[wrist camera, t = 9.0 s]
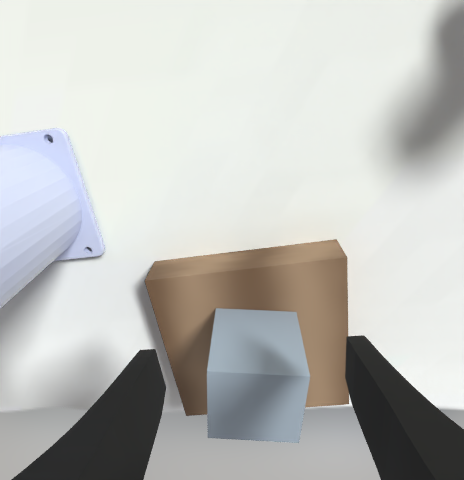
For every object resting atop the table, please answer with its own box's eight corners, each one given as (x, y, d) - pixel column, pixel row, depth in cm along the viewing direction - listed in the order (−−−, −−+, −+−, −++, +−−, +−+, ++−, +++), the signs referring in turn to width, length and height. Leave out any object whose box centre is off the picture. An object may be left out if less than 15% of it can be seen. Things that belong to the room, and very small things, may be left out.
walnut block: (192, 383, 28) (186, 415, 25) (156, 257, 23) (144, 280, 20) (338, 371, 26) (348, 404, 24) (334, 235, 21) (347, 257, 19)
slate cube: (215, 367, 23) (207, 437, 18) (215, 308, 21) (206, 371, 16) (288, 371, 23) (298, 443, 18) (296, 311, 20) (310, 376, 16)
